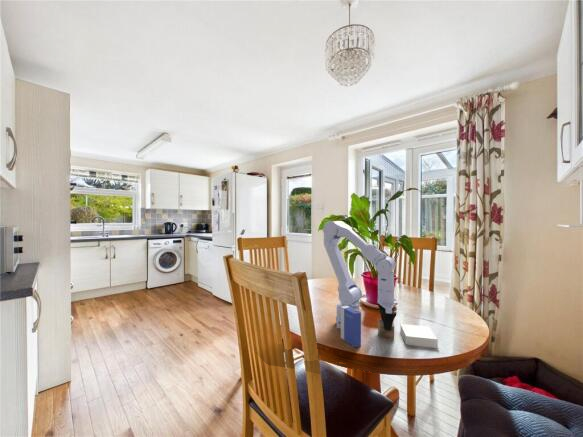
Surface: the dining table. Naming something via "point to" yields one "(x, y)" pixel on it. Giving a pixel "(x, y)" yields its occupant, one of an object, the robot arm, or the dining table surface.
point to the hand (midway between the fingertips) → (386, 325)
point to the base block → (418, 336)
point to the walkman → (351, 326)
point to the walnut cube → (385, 331)
